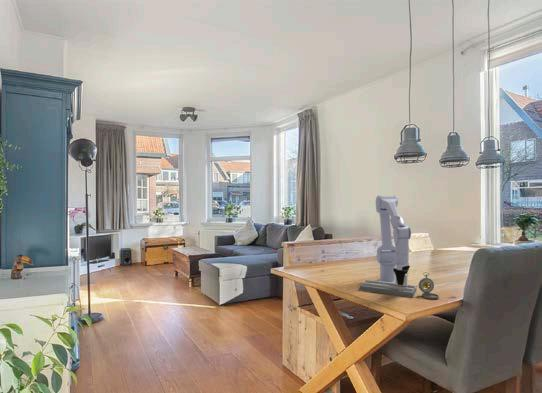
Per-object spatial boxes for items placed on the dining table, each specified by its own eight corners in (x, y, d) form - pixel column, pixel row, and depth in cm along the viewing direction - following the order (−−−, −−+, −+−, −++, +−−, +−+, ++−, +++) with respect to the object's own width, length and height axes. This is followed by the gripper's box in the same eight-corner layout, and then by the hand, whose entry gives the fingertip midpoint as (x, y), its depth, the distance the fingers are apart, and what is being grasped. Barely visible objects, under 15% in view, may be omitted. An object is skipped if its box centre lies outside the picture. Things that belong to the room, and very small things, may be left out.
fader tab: (396, 285, 158) (396, 272, 158) (408, 287, 155) (408, 273, 155) (395, 287, 154) (395, 274, 154) (406, 289, 152) (406, 275, 152)
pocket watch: (433, 300, 142) (433, 276, 142) (415, 295, 149) (415, 273, 149) (443, 297, 147) (443, 274, 147) (425, 292, 154) (425, 270, 154)
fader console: (366, 284, 169) (366, 278, 169) (416, 290, 157) (416, 284, 157) (359, 290, 158) (359, 283, 158) (413, 297, 147) (413, 290, 147)
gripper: (395, 250, 163) (395, 278, 163) (389, 254, 150) (389, 285, 151) (411, 251, 160) (411, 280, 160) (406, 256, 147) (406, 287, 147)
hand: (401, 283), depth 155 cm, fingers open, 7 cm apart
